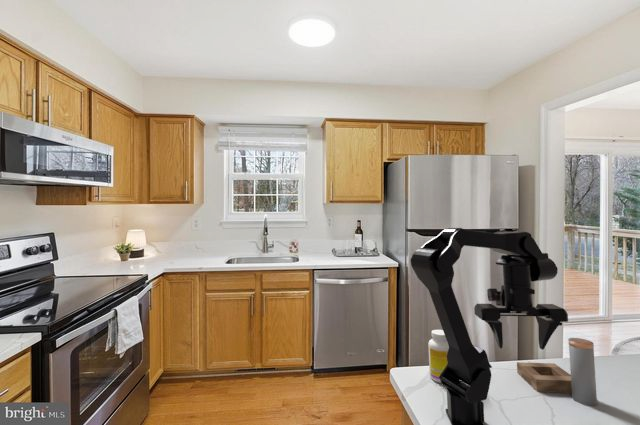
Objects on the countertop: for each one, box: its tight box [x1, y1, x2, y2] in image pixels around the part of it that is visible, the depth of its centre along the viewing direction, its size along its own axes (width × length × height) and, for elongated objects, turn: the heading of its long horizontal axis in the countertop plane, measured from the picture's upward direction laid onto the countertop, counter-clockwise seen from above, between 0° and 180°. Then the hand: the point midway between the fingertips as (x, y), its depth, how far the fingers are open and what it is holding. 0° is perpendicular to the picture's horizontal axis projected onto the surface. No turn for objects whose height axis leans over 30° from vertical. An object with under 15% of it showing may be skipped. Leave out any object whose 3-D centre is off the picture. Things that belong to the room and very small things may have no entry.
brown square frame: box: [516, 361, 572, 394], centre depth 83 cm, size 10×10×3 cm
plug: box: [568, 337, 598, 407], centre depth 75 cm, size 5×5×14 cm
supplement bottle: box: [427, 329, 449, 384], centre depth 87 cm, size 7×7×13 cm
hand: (520, 348), depth 74 cm, fingers open, 9 cm apart
